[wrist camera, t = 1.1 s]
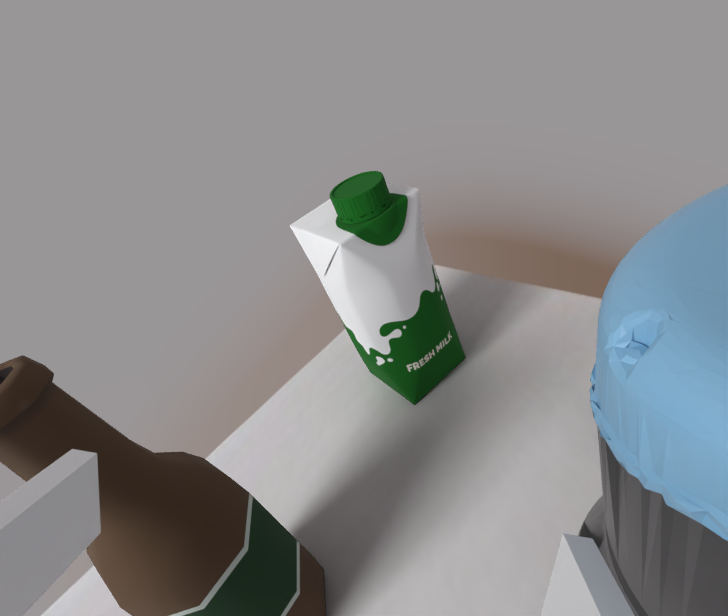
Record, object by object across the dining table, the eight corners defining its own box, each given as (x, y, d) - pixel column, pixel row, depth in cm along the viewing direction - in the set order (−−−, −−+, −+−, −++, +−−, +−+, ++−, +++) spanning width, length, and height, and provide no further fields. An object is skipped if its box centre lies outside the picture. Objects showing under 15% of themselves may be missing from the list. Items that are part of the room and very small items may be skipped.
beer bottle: (209, 667, 28) (-180, 479, 15) (258, 543, 34) (9, 324, 20) (310, 696, 25) (-67, 491, 11) (345, 554, 31) (120, 304, 17)
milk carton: (414, 417, 38) (323, 223, 26) (357, 373, 45) (266, 204, 33) (479, 355, 40) (422, 156, 29) (417, 323, 47) (351, 151, 36)
